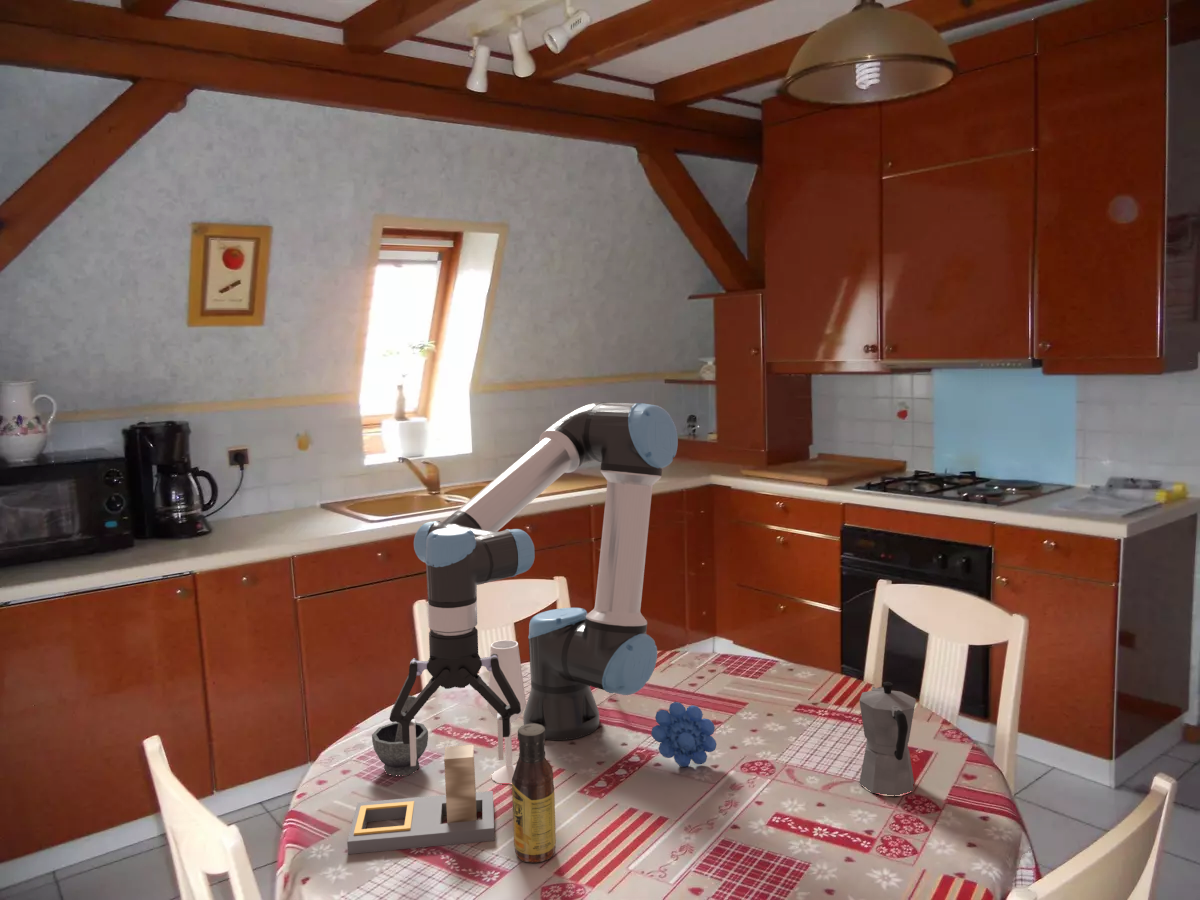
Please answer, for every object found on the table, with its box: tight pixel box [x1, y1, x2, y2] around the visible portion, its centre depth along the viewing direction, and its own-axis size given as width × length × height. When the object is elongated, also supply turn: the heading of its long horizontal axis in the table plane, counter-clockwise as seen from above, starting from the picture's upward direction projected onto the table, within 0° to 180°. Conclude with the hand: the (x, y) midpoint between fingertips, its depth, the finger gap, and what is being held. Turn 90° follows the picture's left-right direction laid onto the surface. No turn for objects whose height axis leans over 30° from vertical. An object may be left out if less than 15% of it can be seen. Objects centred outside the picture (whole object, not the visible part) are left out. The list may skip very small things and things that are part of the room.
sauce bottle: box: [511, 724, 557, 864], centre depth 137 cm, size 6×6×20 cm
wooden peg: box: [443, 744, 478, 823], centre depth 147 cm, size 4×4×12 cm
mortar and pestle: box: [371, 695, 429, 777], centre depth 167 cm, size 11×9×12 cm
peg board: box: [346, 790, 496, 855], centre depth 147 cm, size 22×12×2 cm, turn 97°
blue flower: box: [650, 701, 717, 768], centre depth 163 cm, size 12×7×12 cm, turn 93°
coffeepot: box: [858, 681, 917, 796], centre depth 154 cm, size 15×9×18 cm, turn 179°
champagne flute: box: [487, 639, 527, 783], centre depth 162 cm, size 7×7×24 cm
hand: (457, 759), depth 146 cm, fingers open, 13 cm apart
